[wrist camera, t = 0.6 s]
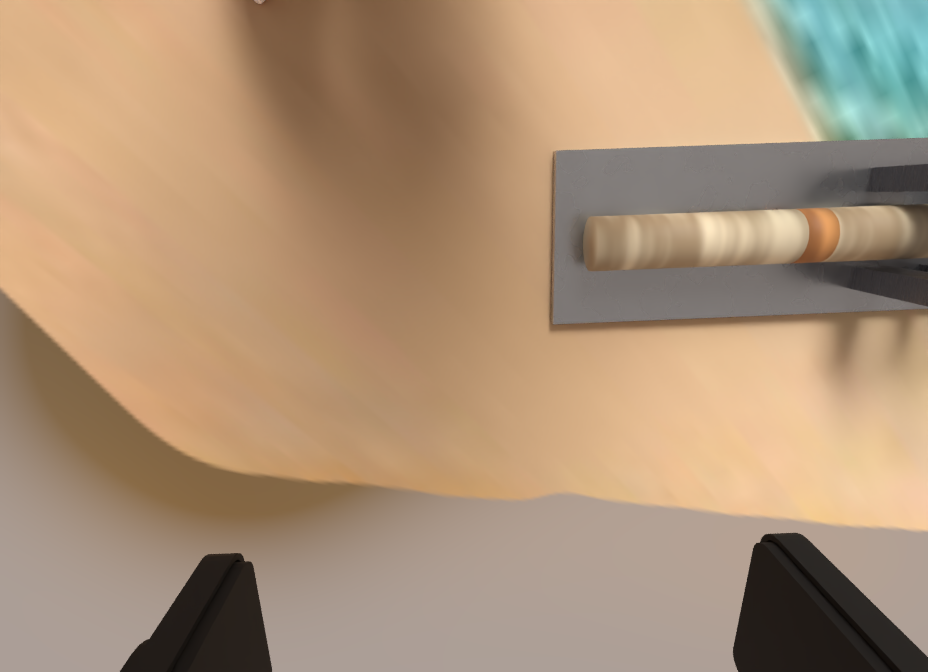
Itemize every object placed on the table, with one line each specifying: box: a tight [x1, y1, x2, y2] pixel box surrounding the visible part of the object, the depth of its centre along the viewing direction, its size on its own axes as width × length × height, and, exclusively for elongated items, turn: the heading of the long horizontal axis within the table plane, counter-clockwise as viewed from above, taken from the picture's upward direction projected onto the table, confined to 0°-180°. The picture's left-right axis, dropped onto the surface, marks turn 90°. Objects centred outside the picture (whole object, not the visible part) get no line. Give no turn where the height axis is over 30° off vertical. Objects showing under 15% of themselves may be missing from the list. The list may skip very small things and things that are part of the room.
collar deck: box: [551, 138, 928, 324], centre depth 31 cm, size 12×40×9 cm, turn 92°
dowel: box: [583, 204, 928, 271], centre depth 32 cm, size 24×4×4 cm, turn 92°
